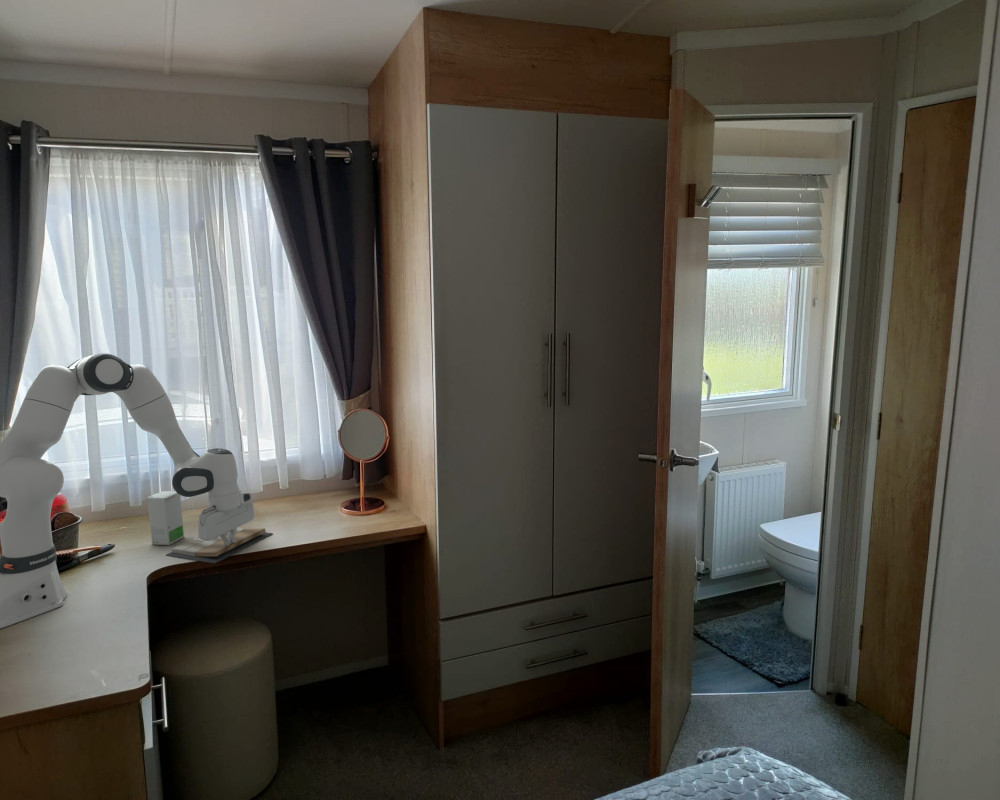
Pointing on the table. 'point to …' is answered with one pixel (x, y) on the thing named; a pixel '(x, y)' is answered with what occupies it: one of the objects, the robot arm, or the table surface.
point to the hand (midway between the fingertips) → (229, 544)
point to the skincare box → (165, 517)
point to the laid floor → (197, 545)
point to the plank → (220, 548)
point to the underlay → (220, 557)
